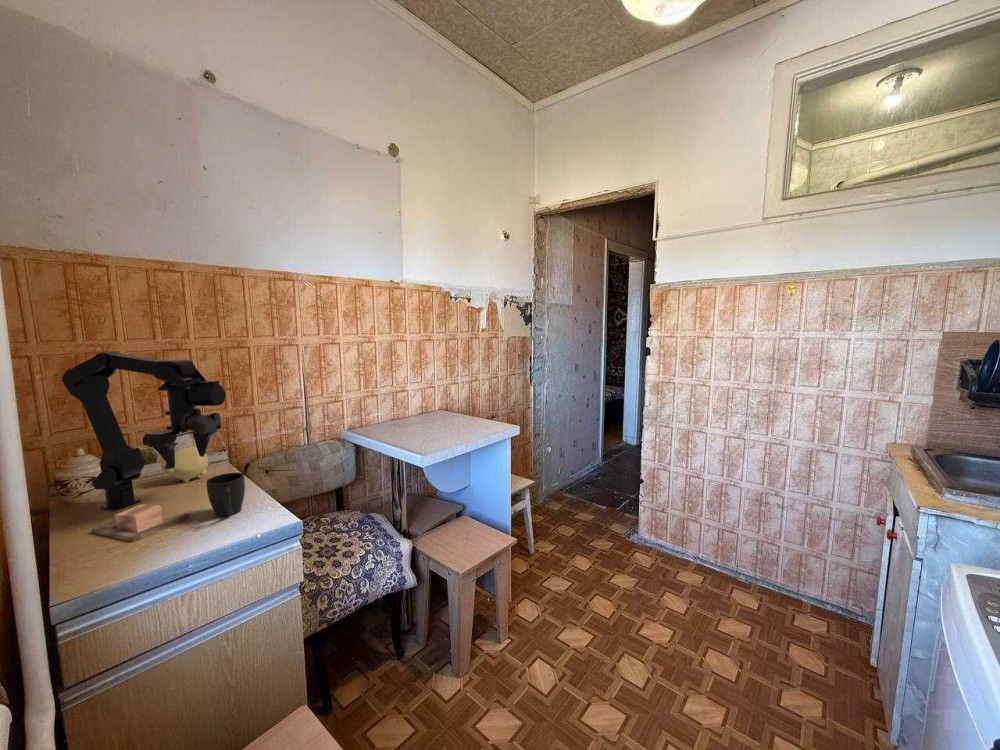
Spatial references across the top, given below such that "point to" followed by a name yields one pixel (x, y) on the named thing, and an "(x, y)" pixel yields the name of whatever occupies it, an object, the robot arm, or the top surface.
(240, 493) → the mug
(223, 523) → the top surface
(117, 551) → the top surface
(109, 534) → the walnut bay
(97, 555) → the top surface
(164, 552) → the top surface
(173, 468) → the toy pig
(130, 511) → the terracotta block
